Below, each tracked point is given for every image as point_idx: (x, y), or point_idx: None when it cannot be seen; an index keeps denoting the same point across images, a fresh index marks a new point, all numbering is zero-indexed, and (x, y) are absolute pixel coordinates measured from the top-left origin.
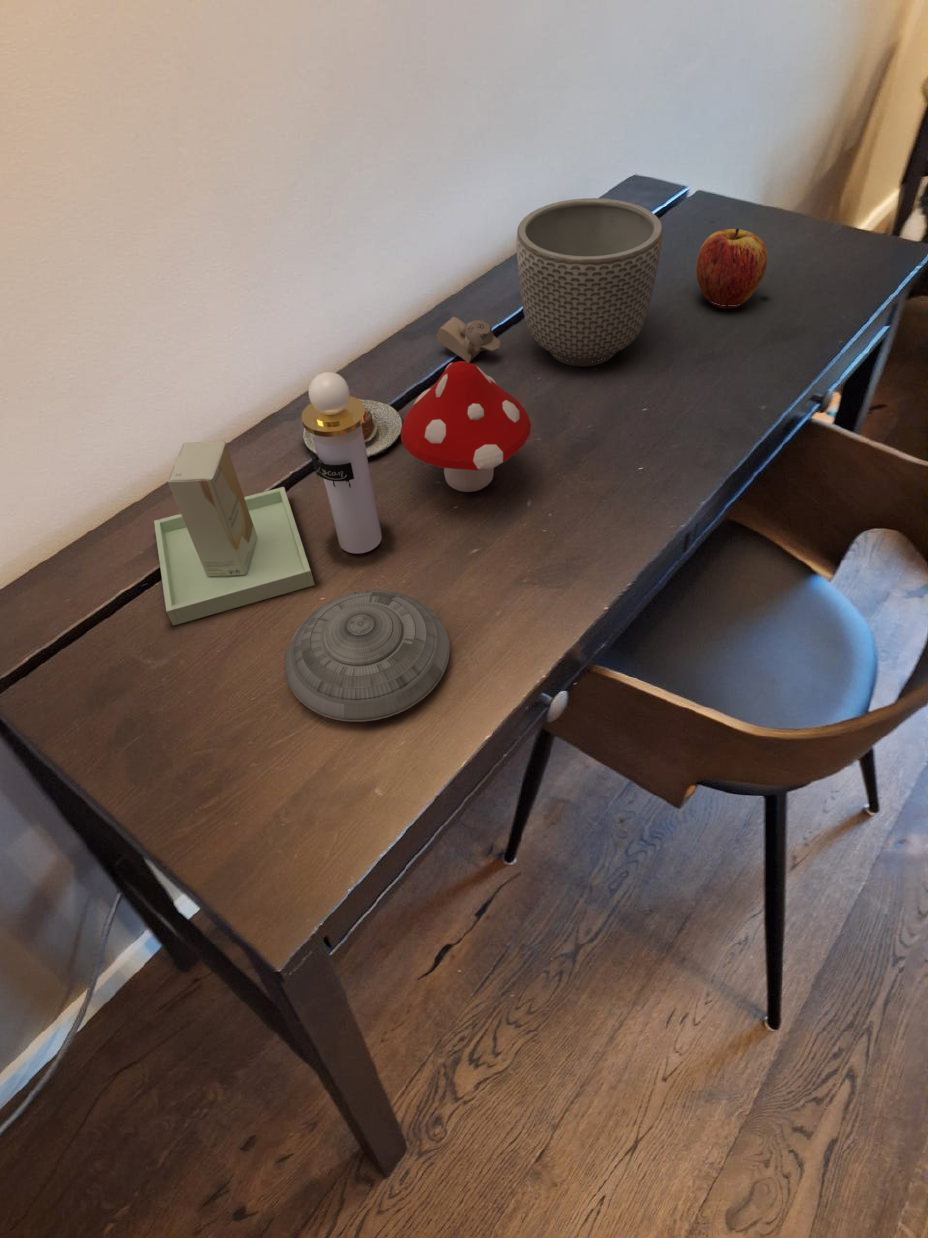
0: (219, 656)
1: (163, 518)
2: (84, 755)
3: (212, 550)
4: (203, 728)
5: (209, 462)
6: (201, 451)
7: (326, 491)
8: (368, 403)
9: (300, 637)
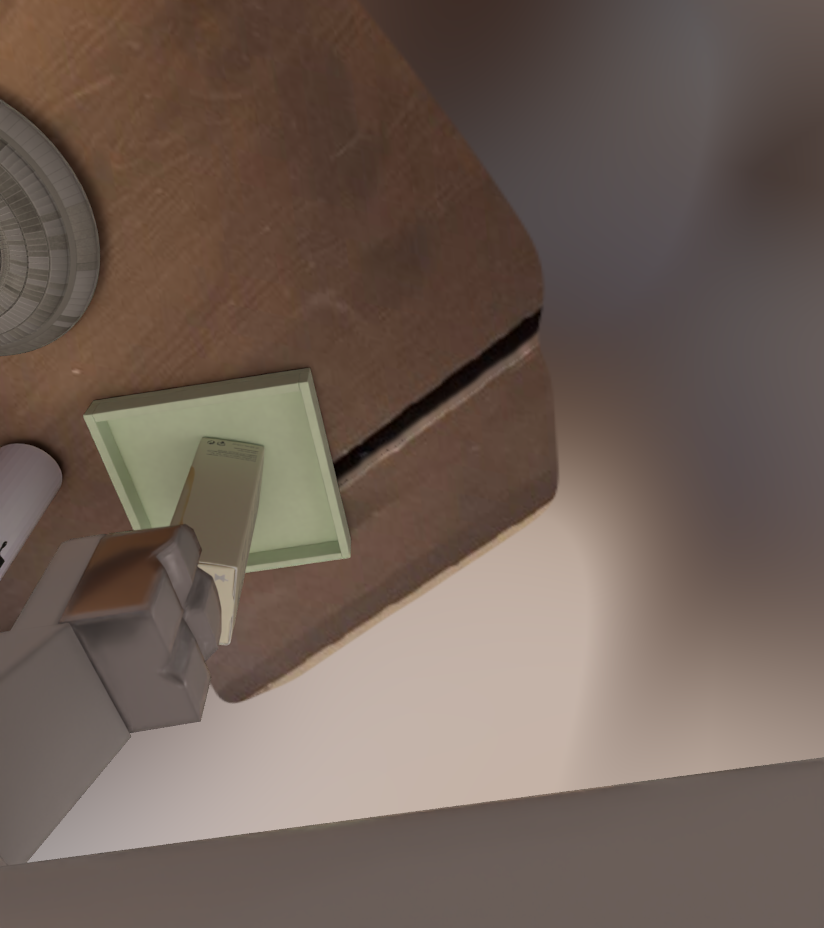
0: (228, 291)
1: (336, 559)
2: (421, 137)
3: (230, 471)
4: (233, 146)
5: None
6: None
7: (15, 532)
8: None
9: (54, 265)
